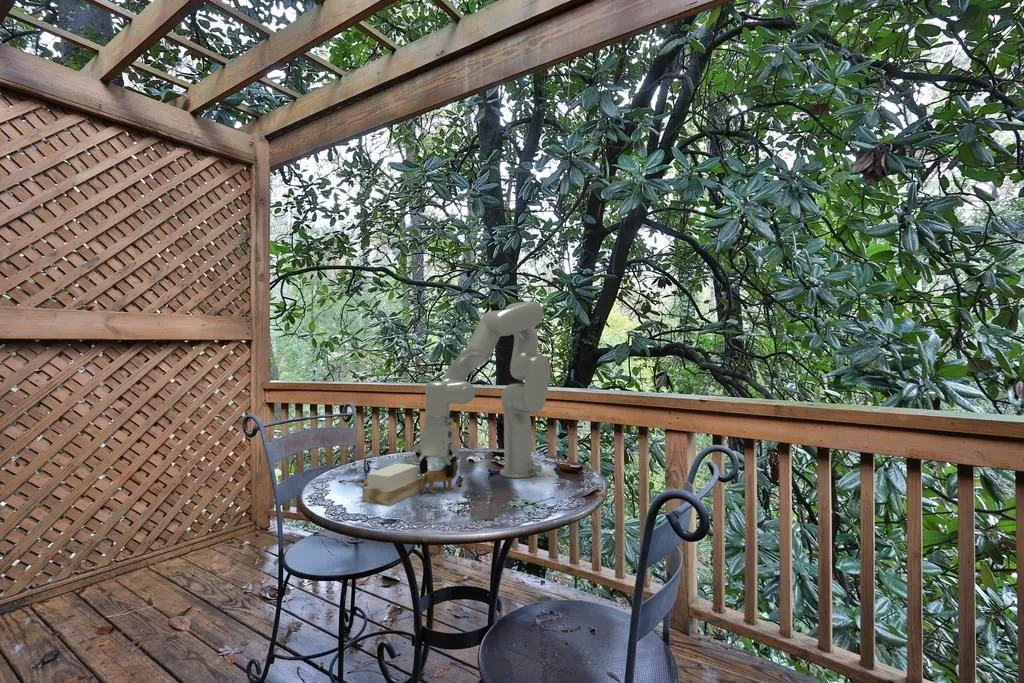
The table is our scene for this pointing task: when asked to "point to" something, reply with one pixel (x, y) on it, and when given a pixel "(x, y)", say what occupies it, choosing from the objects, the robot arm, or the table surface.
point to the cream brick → (392, 476)
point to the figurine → (365, 472)
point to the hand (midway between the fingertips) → (436, 475)
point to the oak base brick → (391, 493)
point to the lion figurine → (438, 478)
